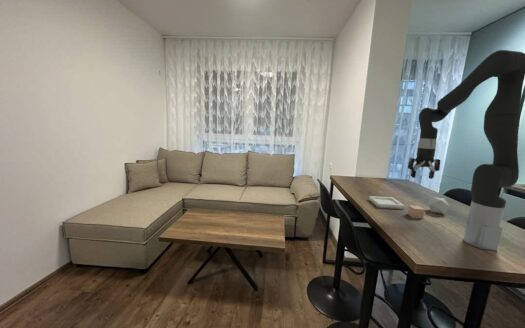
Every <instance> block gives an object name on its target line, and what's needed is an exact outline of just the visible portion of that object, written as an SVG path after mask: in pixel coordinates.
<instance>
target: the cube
mask: <svg viewBox="0 0 525 328" xmlns="http://www.w3.org/2000/svg"><path fill="white" fill-rule="evenodd" d="M407 215H408V216H410V217H411V218H412V219H424V215H425V208H423V207H421V206H419V205H413V204H412V205H409V204H408V208H407Z"/></svg>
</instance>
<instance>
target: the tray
mask: <svg viewBox="0 0 525 328" xmlns="http://www.w3.org/2000/svg"><path fill="white" fill-rule="evenodd" d="M368 201H370V202H371V203H372V204H373V205H374V206H376V208H378V209H392V210H405V205H404V204H403V203H401V202H400V201H399V200H397V199H396V198H395V197H392V196H374V195H373V196H372V195H370V196H368Z"/></svg>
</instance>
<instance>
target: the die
mask: <svg viewBox="0 0 525 328" xmlns="http://www.w3.org/2000/svg"><path fill="white" fill-rule="evenodd" d="M446 200H447V199H445V198H442V197H436V196H435V197H434V196H432V198H431V199H430V200H429V201H428V203H427V204H426V205H427V207H428V208H429V210H430V211H431V213H434V214H439V215H440V214H441V215H444V214H445V213H446V212H447V211H448V209H449V208H450V205H449V203H448V202H447V201H446Z"/></svg>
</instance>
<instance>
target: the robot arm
mask: <svg viewBox="0 0 525 328" xmlns="http://www.w3.org/2000/svg"><path fill="white" fill-rule="evenodd" d="M491 78H497V88H496V93H495V95H494V97H493V99H492V101H491V102H490V103H489V105H488V106H487V108H486V110H485V113H484V119H483V134H484V135H485V137H486V139H487V141H488V142H489V144H490V146H491V148H492V151H493V153H492V154H493V160H492V163H482V164H480V165H478V166H477V167H476V168H475V169H474V172H473V175H472V182H471V189H470V195H471V203H470V207H469V212H468V216H467V220H466V225H465V230H464V235H463V241H464V242H465V243H467V244H468V245H470V246H473V247H475V248H478V249H479V250H485V251H486V250H490V251H498V249H499V248H498V247H499V243H500V240H501V236H502V233H503V227H502V226H501V224H502V220H503V217H504V212H505V207H506V203H507V200H506V199H505V198H504V197H501V196H499V189H500V188H503V189H504V188H505V189H507V188H510V187H513V186H514V185H515V184H517V182H518V180H519V177H520V175H519V172H520V167H519V158H518V157H519V156H518V155H519V154H518V144H519V143H518V141H519V130H520V129H519V128H520V122H521V104H522V93H523V86H524V81H525V53H524V52H523V51H519V50H510V49H498V50H496V51H494V52H492V53H491V54H489V55H488V56H487V57H486V58H484V59H483V60H482V61H481V62H480V63H479V65H477V66H476V67H475V68H474V69H473V70H472V71H471V72H470V73H469V74H468V75H467V77H465V78H464V79H463V80H462V81H461V82H460V83H459V84H458V85H456V86H455V88H453V89H452V90H451V91H449V92H448V93H447V94H445V95H444V96H443V97H441V98H440V99H439V100H438V101H437V104H436V105H437V107H424V108H422V109H421V110H420V112H419V115H418V122H419V128H420V133H419V139H418V142H417V149H416V150H417V151H416V157H415V158H413V157H409V160H408V164H407V169H408V170H410V176H411V178H413V179H415V178H416V174H417V171H418V169H420V168H428V169H429V173H428V179H430V180H431V179H432V180H433V178H435V172H439V171H440V170H441V169H440V168H441V159H438V158H434V157H435V155H436V148H437V139H438V134H439V133H438V132H439V128H437V127H435V126H433V123H438V122H441V121H442V120H444V119H445V118H446V117H447V116H448V115H449V114H450V113H451V112H452V111H453V110H455V108H457V107H459V106H460V105H462V104H463V103H464V102H466V100H467V99H469V97H470V96H471V95H472V93H473V92H474V91H475V89H477V87H478V86H479V85H481V84H482V83H483V82H485V81H487V80H489V79H491ZM433 163H434V164H433Z"/></svg>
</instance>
